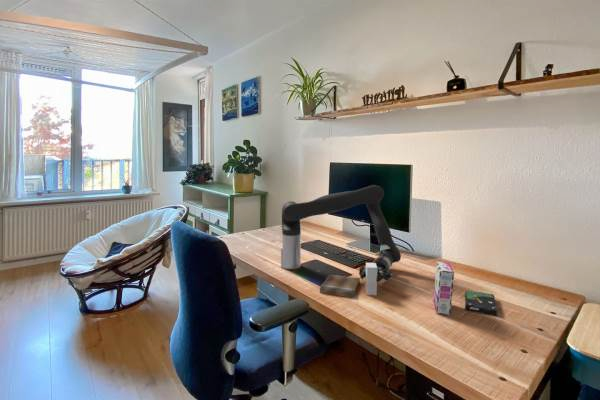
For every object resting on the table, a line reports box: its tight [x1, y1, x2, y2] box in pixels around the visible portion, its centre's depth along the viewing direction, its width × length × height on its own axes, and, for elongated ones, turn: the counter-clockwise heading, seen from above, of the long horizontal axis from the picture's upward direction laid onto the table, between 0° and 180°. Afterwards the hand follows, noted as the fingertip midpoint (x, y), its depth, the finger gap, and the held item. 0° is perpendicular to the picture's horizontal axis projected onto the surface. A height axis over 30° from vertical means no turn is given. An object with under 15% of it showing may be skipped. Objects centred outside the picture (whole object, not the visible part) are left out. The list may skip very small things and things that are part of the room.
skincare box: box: [364, 262, 378, 296], centre depth 135 cm, size 6×4×12 cm
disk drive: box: [464, 290, 498, 317], centre depth 125 cm, size 10×3×15 cm
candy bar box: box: [433, 261, 455, 316], centre depth 121 cm, size 11×5×16 cm, turn 163°
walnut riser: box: [319, 273, 361, 298], centre depth 141 cm, size 14×16×3 cm
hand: (369, 278), depth 132 cm, fingers closed on skincare box, 6 cm apart
